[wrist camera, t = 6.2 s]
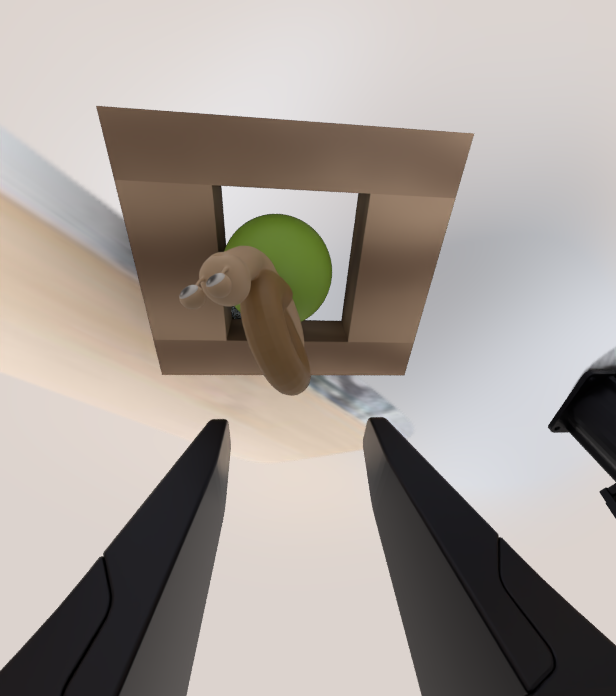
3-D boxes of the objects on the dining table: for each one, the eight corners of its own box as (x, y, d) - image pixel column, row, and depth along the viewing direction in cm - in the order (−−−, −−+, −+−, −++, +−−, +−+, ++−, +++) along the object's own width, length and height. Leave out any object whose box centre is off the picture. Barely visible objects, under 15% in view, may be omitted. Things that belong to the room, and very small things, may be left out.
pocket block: (393, 352, 23) (404, 375, 21) (173, 350, 22) (162, 374, 20) (448, 132, 16) (474, 133, 14) (122, 108, 14) (96, 106, 12)
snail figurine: (295, 164, 16) (319, 230, 6) (338, 277, 20) (397, 433, 10) (199, 211, 17) (87, 333, 7) (257, 310, 20) (236, 485, 11)
